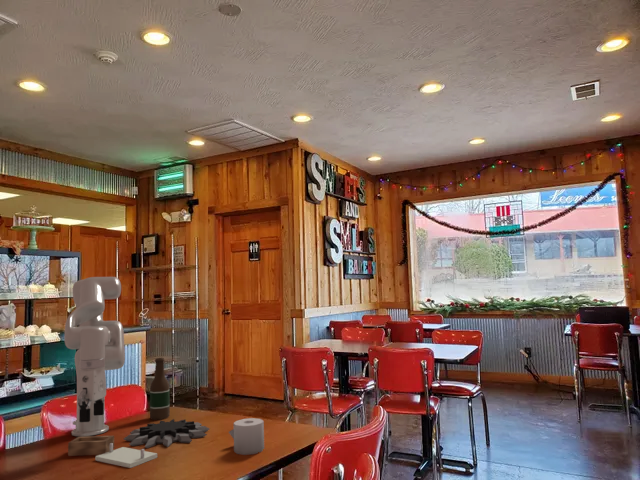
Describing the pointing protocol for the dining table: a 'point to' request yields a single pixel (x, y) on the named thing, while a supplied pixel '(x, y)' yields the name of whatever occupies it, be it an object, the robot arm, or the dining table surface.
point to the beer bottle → (159, 393)
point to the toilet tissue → (248, 436)
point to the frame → (90, 445)
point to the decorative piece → (166, 433)
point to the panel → (126, 456)
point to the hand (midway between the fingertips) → (91, 418)
